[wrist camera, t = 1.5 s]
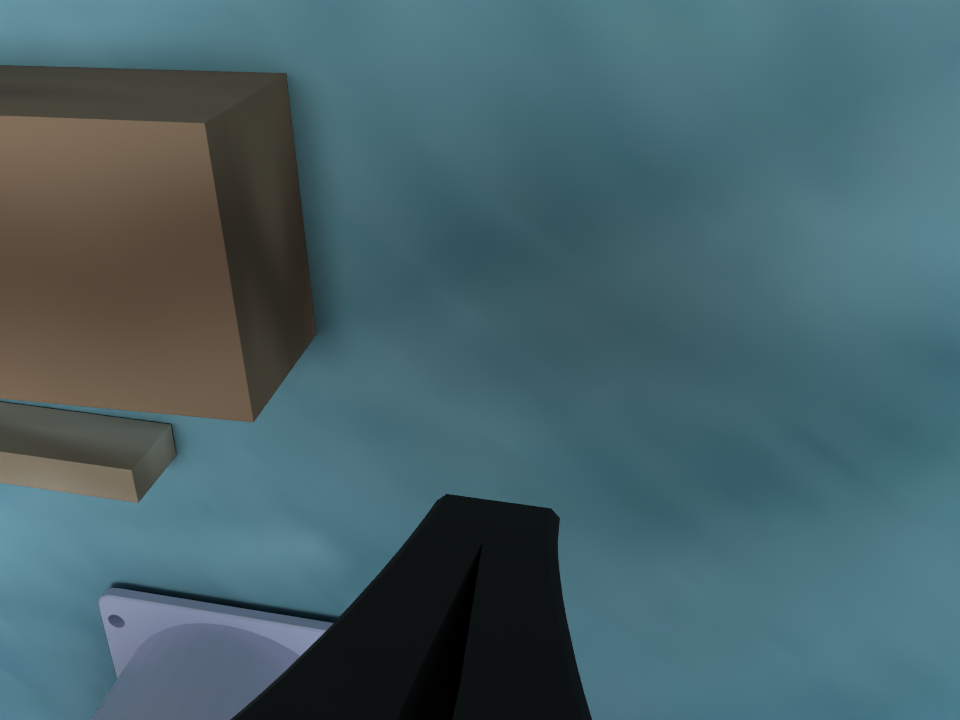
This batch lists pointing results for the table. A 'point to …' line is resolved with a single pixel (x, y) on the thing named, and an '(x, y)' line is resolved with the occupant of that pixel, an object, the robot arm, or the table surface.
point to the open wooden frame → (82, 452)
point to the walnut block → (150, 240)
